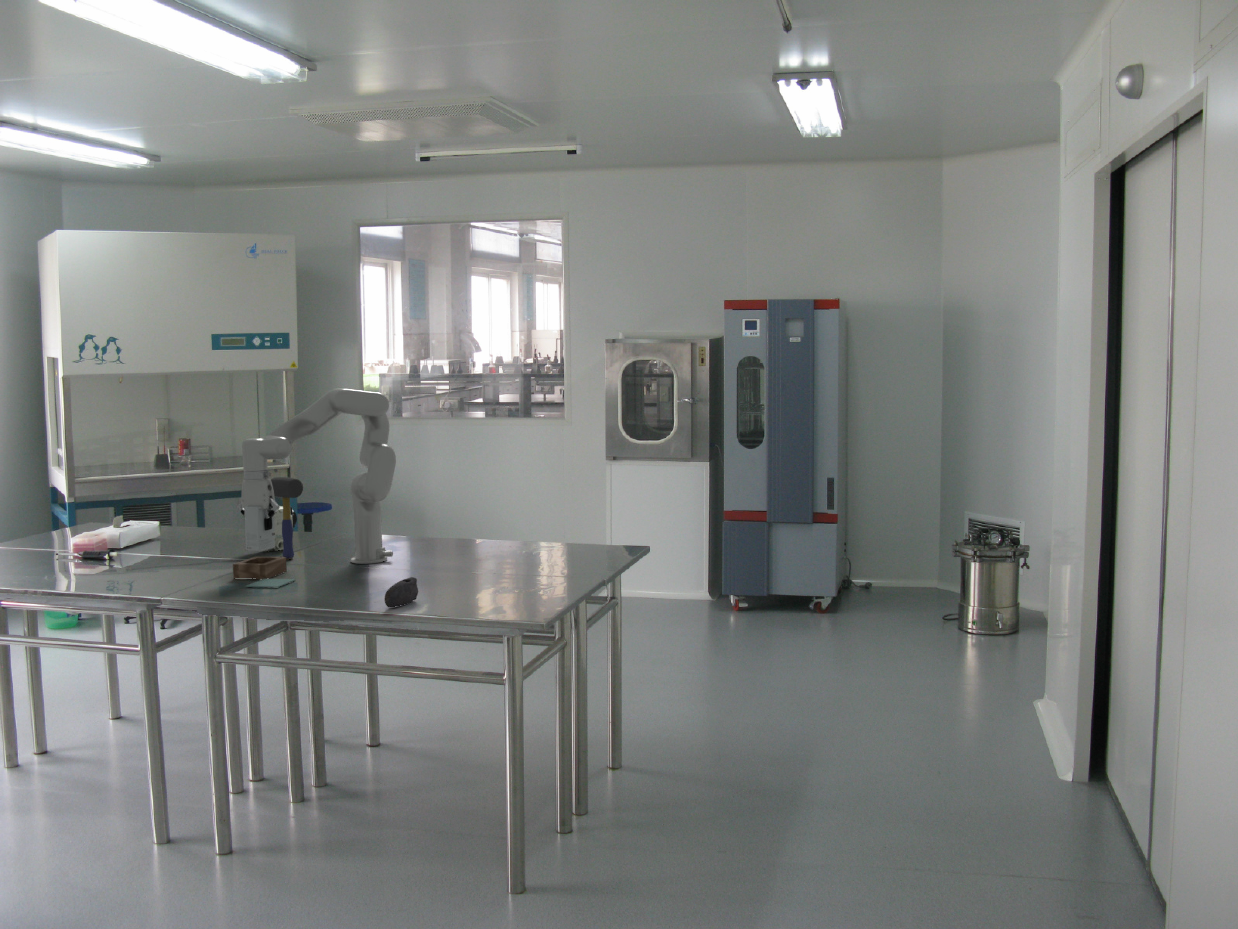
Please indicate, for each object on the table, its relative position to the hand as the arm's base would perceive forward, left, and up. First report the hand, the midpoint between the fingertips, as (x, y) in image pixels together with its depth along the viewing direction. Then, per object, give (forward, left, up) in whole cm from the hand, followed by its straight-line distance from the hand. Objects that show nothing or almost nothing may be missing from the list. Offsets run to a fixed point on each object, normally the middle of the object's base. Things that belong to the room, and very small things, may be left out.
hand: (259, 529), depth 330 cm
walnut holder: (0, 0, -16) cm, 16 cm away
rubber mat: (-11, +13, -16) cm, 23 cm away
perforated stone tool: (-64, +35, -16) cm, 75 cm away
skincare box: (0, 0, -7) cm, 7 cm away
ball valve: (+20, -45, -16) cm, 52 cm away
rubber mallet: (+5, -28, -16) cm, 32 cm away
